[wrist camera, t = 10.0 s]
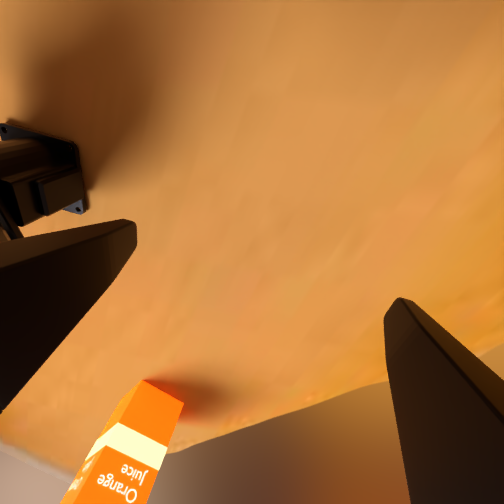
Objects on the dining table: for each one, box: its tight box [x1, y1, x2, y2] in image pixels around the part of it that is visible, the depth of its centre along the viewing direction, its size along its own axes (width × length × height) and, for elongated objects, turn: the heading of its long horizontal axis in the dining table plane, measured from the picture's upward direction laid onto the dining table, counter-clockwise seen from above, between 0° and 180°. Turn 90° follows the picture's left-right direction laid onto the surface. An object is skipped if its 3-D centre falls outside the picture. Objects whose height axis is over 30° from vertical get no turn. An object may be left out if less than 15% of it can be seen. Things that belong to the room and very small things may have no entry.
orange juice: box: [60, 380, 184, 504], centre depth 34 cm, size 8×9×20 cm
